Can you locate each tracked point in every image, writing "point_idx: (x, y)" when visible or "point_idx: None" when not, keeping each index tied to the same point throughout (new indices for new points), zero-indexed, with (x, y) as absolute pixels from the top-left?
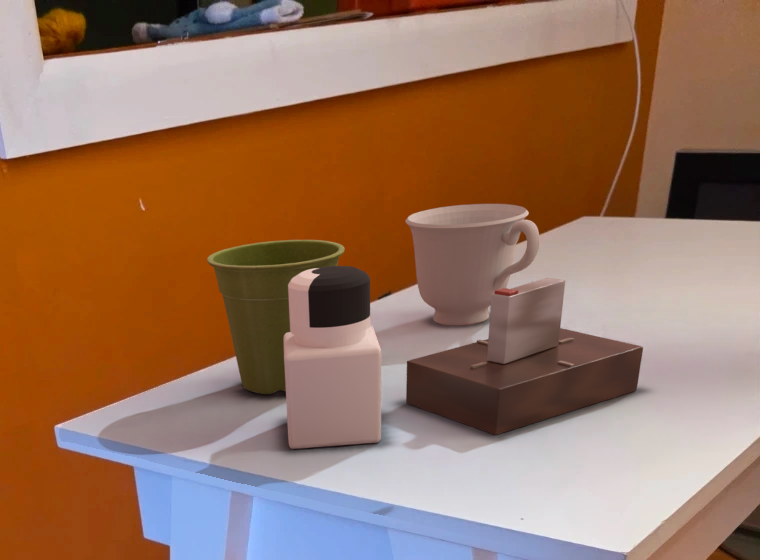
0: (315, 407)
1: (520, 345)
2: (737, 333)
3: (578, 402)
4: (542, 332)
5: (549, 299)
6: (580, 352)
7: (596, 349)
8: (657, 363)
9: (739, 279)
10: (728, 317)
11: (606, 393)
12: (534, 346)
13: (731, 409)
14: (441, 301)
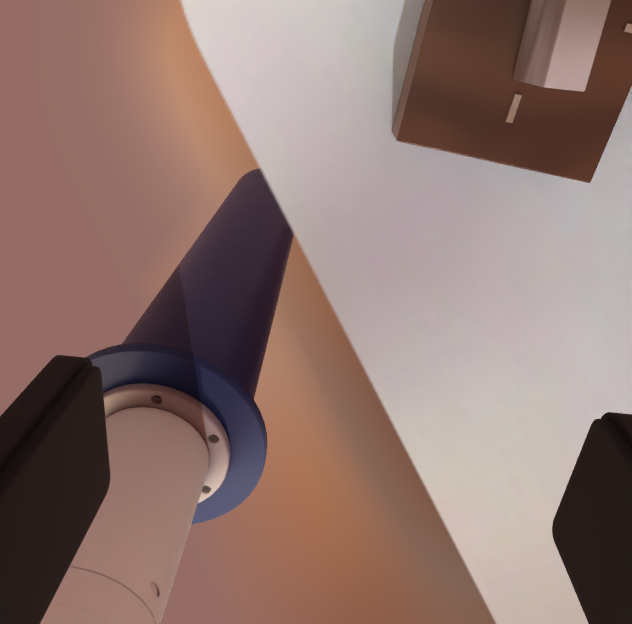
0: None
1: None
2: (393, 398)
3: (423, 8)
4: (532, 31)
5: (546, 43)
6: (464, 63)
7: (450, 92)
8: (422, 251)
9: (485, 582)
10: (430, 450)
11: (408, 67)
12: (531, 11)
13: (259, 125)
14: None
